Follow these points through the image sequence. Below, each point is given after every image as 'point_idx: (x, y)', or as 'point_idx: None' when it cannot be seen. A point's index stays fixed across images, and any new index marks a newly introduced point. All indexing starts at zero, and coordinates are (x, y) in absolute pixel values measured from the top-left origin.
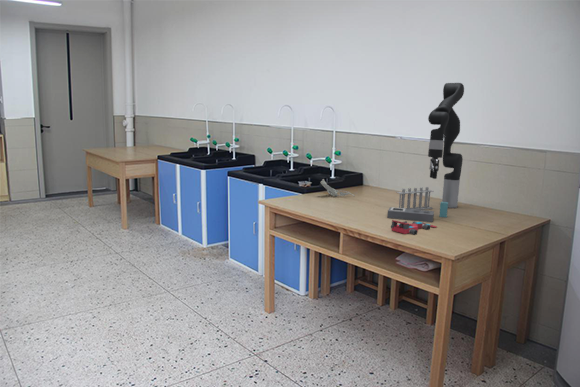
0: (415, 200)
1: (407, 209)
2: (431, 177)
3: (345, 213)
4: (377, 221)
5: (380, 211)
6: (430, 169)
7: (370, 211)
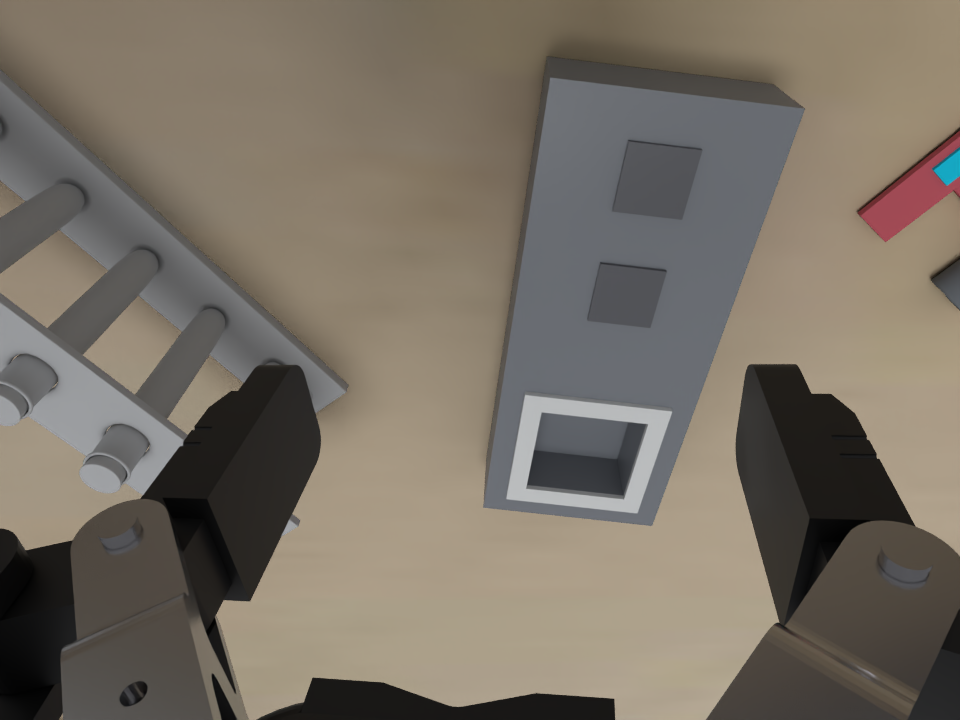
0: (111, 300)
1: (544, 376)
2: (314, 416)
3: (561, 679)
4: None
5: (406, 515)
6: (225, 651)
7: (437, 570)
